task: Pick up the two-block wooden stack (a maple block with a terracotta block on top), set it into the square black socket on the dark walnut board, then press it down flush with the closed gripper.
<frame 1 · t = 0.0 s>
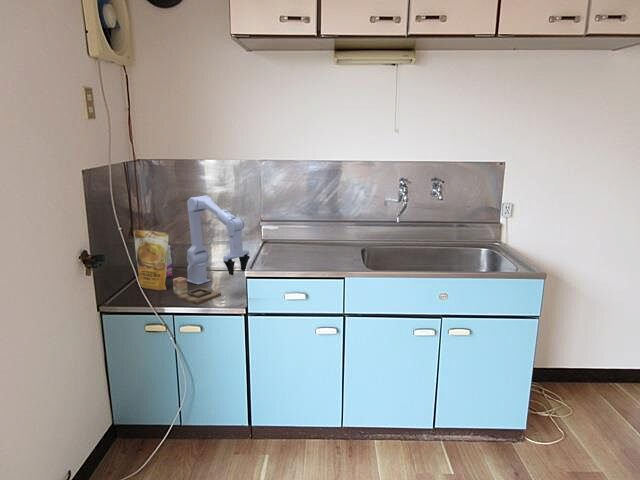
hand: (237, 272, 221), 10 cm above the countertop, tool pointing down, fingers open, 7 cm apart
socket board: (199, 296, 219), on the countertop
block stack: (180, 292, 224), on the countertop
candy bar box: (161, 278, 245), on the countertop
pancake mix bag: (153, 287, 232), on the countertop
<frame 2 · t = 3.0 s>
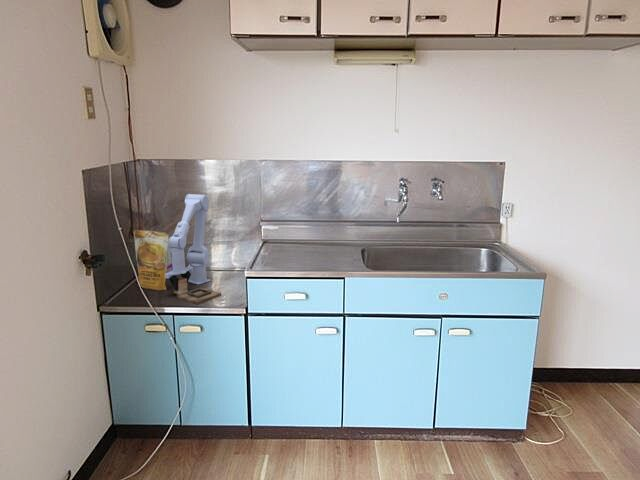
hand: (180, 289, 224), 2 cm above the countertop, tool pointing down, fingers closed on block stack, 4 cm apart
block stack: (180, 292, 224), on the countertop, touching gripper
everything else where it was.
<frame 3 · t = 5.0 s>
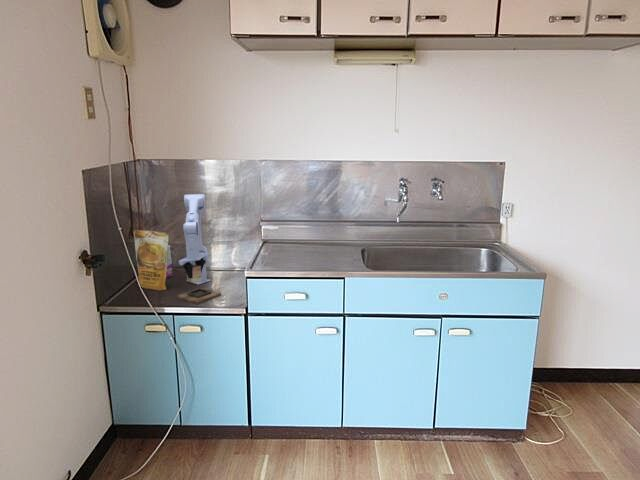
hand: (194, 276, 218), 9 cm above the countertop, tool pointing down, fingers closed on block stack, 4 cm apart
block stack: (194, 280, 218), point 7 cm above the countertop, touching gripper
everything else where it was.
when the fingers open (4 cm above the countertop, at t = 7.2 s): block stack drops 1 cm, resting on socket board.
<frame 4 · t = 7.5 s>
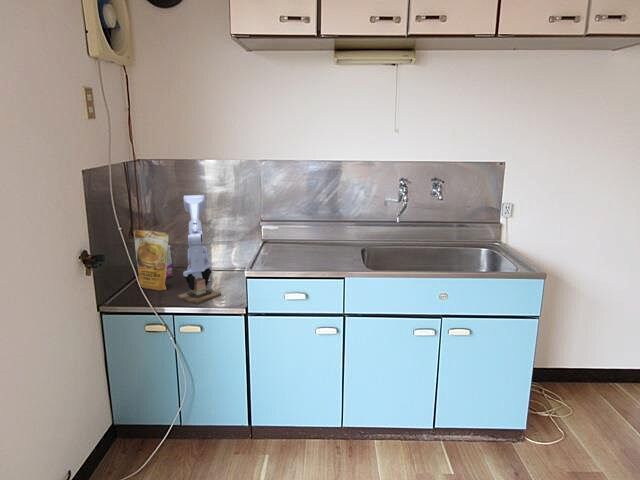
hand: (198, 287, 218), 5 cm above the countertop, tool pointing down, fingers open, 7 cm apart
block stack: (198, 294, 219), point 1 cm above the countertop, touching socket board
everything else where it was.
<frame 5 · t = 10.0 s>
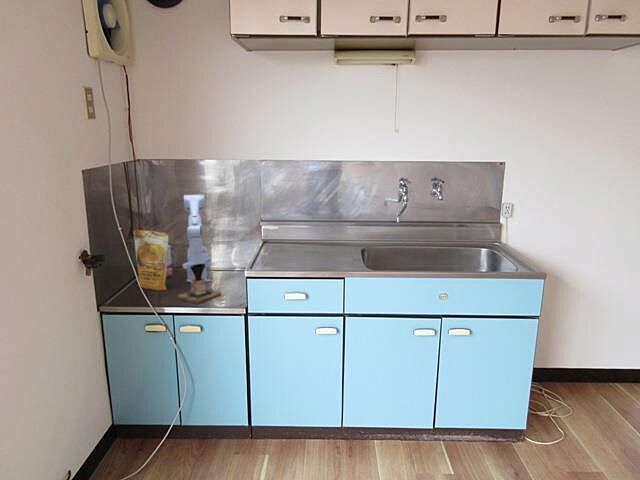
hand: (198, 280, 217), 8 cm above the countertop, tool pointing down, fingers closed, pressing on block stack
block stack: (198, 294, 219), point 1 cm above the countertop, touching gripper, socket board
everything else where it was.
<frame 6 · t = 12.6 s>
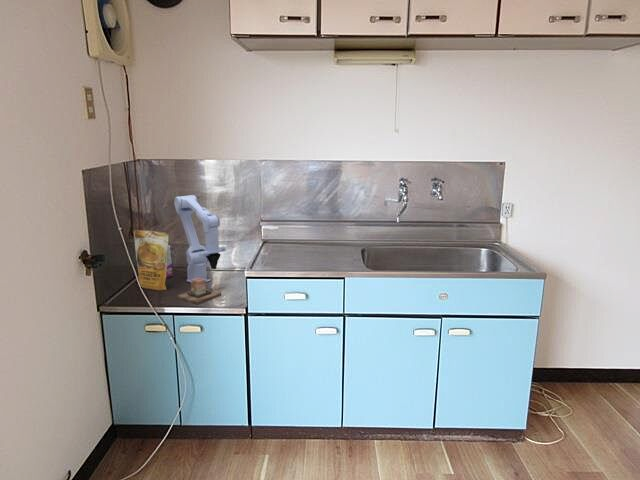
hand: (213, 268, 226), 10 cm above the countertop, tool pointing down, fingers closed
block stack: (198, 294, 219), point 1 cm above the countertop, touching socket board
everything else where it was.
at the end: block stack 0.2 cm off-centre on the socket board, point 1.2 cm above the socket board's base; block stack tilted 0°; the gripper is holding nothing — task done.
